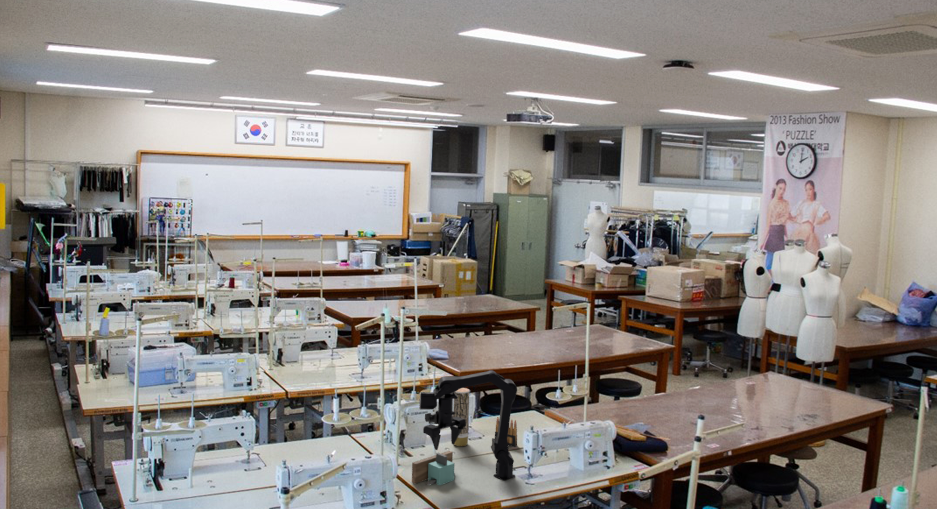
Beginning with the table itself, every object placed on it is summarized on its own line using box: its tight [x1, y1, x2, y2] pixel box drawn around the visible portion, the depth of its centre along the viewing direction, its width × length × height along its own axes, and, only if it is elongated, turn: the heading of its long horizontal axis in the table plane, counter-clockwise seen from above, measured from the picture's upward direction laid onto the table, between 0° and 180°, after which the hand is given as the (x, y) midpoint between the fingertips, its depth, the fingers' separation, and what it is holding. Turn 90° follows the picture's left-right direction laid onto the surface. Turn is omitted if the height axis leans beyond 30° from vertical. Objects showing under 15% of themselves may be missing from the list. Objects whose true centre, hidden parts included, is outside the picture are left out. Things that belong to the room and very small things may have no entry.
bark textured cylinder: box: [452, 387, 470, 447], centre depth 354 cm, size 7×7×25 cm
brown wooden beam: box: [411, 450, 456, 486], centre depth 316 cm, size 7×20×8 cm, turn 135°
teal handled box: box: [427, 452, 455, 486], centre depth 314 cm, size 7×8×10 cm
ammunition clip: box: [494, 416, 518, 448], centre depth 357 cm, size 11×2×12 cm, turn 61°
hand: (444, 447), depth 316 cm, fingers open, 9 cm apart
